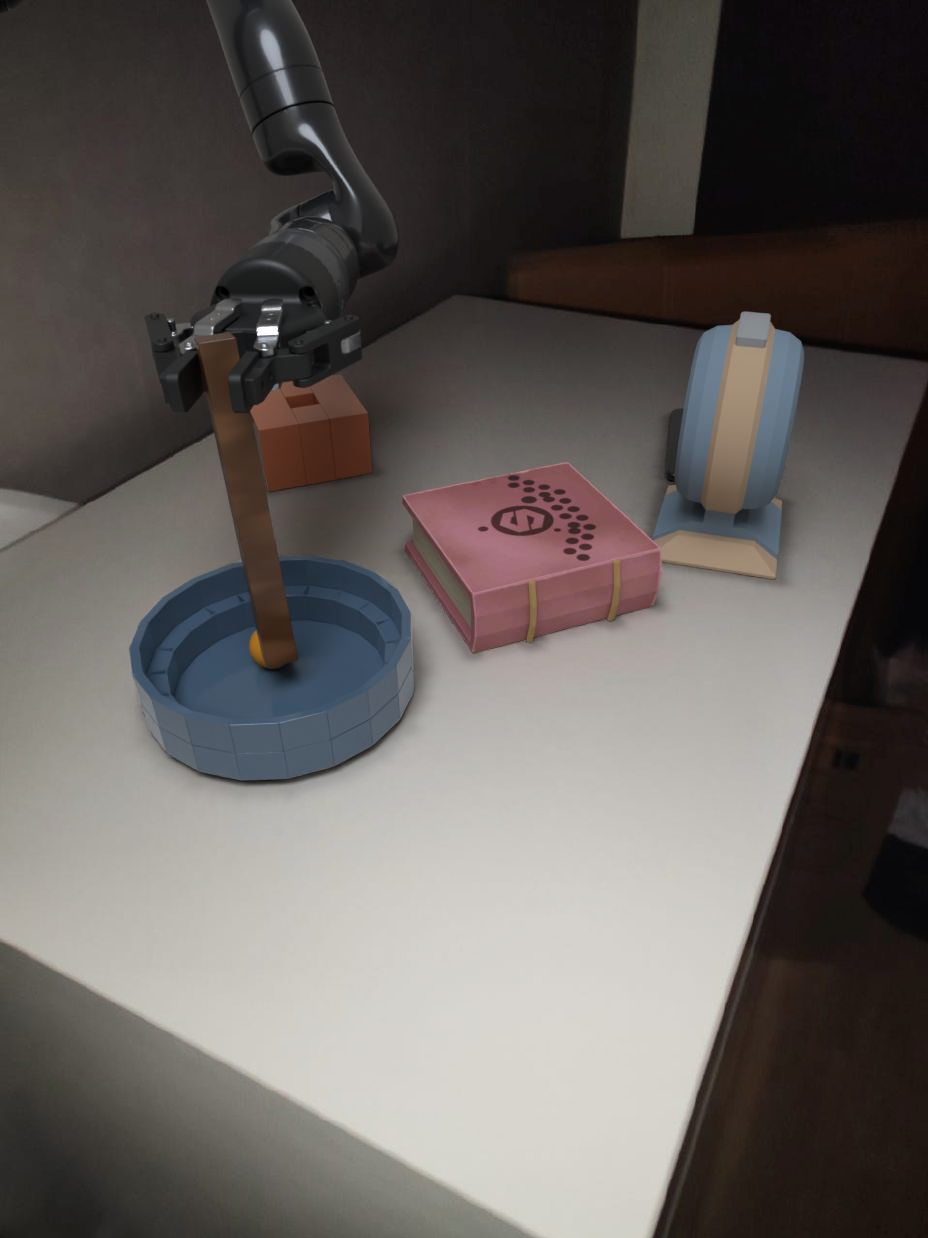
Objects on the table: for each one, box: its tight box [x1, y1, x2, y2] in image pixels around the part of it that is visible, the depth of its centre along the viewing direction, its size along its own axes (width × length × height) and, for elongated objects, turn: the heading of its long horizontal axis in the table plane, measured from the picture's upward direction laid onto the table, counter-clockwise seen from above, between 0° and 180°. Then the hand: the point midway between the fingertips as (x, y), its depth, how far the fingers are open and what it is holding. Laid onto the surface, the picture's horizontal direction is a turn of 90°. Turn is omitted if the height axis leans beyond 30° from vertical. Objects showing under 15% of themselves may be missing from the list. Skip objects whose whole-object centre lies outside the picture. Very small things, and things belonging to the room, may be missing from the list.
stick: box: [194, 332, 298, 668], centre depth 54 cm, size 2×2×20 cm
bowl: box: [128, 554, 415, 781], centre depth 59 cm, size 17×17×5 cm
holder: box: [250, 373, 373, 493], centre depth 85 cm, size 10×10×6 cm
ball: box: [249, 630, 285, 669], centre depth 60 cm, size 3×3×3 cm
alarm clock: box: [651, 311, 805, 580], centre depth 70 cm, size 14×10×18 cm
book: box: [401, 461, 663, 654], centre depth 69 cm, size 14×15×5 cm
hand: (206, 395), depth 48 cm, fingers closed on stick, 2 cm apart
